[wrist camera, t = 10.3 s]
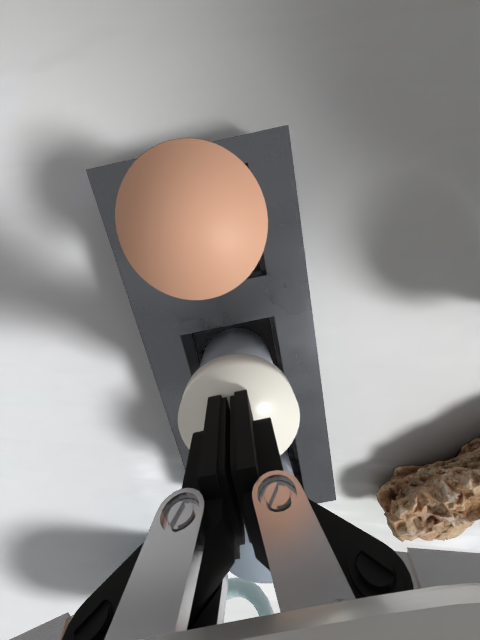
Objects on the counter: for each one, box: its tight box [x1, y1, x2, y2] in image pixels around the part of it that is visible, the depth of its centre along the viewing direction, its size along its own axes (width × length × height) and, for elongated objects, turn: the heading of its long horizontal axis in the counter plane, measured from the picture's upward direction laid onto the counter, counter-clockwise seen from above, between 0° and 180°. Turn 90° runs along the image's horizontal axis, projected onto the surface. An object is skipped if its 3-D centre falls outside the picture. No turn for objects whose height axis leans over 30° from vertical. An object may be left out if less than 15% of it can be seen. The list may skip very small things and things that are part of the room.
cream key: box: [178, 328, 300, 455], centre depth 14 cm, size 5×5×6 cm
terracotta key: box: [115, 138, 268, 300], centre depth 12 cm, size 5×5×6 cm
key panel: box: [86, 125, 336, 503], centre depth 17 cm, size 10×24×3 cm, turn 11°
